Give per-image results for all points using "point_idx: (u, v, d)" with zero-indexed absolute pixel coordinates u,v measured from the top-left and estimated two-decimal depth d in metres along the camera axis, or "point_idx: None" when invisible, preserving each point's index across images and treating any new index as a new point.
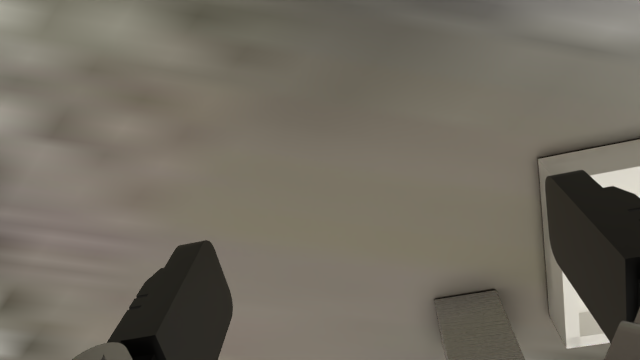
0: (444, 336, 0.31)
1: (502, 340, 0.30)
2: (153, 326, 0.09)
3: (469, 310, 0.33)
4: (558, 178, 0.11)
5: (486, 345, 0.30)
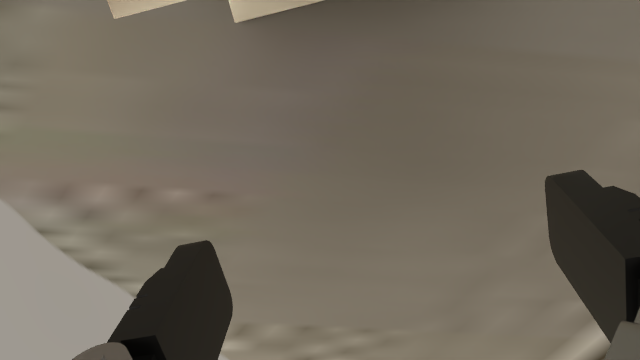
0: None
1: None
2: (153, 326, 0.09)
3: None
4: (558, 178, 0.11)
5: None
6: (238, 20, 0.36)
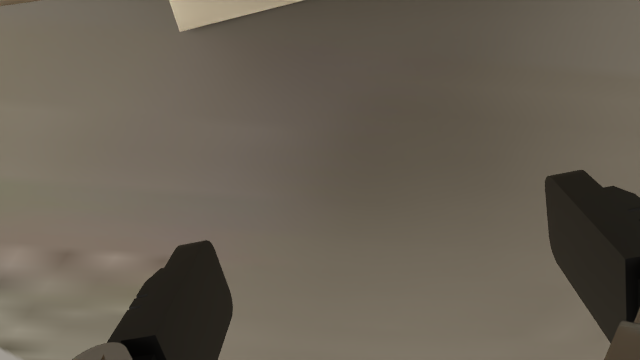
0: None
1: None
2: (153, 326, 0.09)
3: None
4: (558, 178, 0.11)
5: None
6: (184, 28, 0.25)
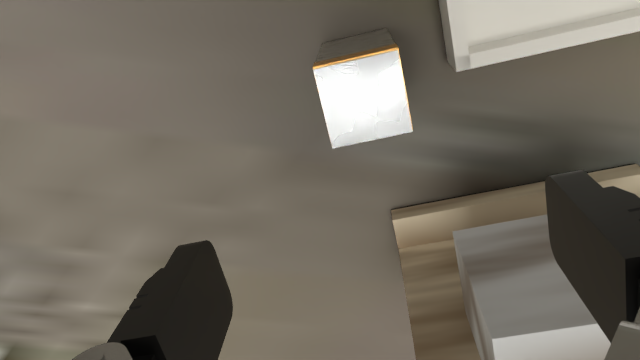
0: (320, 52, 0.28)
1: (378, 42, 0.27)
2: (153, 326, 0.09)
3: (354, 39, 0.30)
4: (558, 178, 0.11)
5: (360, 47, 0.27)
6: None
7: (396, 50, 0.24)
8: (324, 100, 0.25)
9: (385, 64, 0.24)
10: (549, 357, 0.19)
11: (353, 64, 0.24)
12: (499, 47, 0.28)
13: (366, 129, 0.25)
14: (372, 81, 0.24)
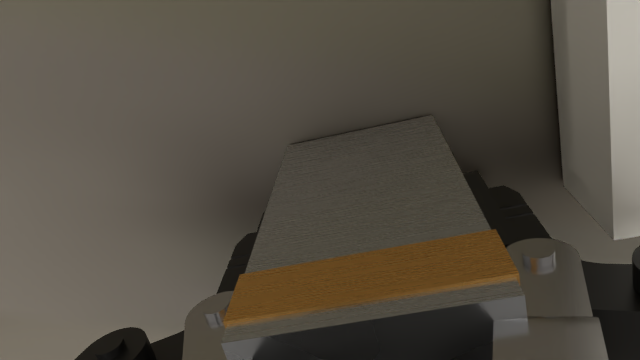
0: (273, 198, 0.11)
1: (427, 189, 0.10)
2: None
3: (358, 150, 0.13)
4: None
5: (377, 204, 0.10)
6: None
7: (517, 292, 0.07)
8: None
9: (475, 336, 0.07)
10: None
11: (360, 333, 0.07)
12: None
13: None
14: None
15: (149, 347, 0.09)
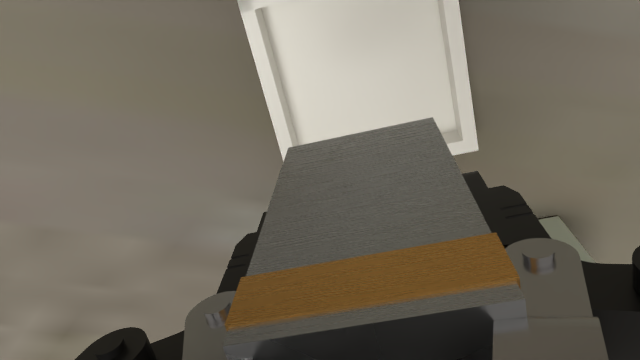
0: (274, 201, 0.11)
1: (427, 191, 0.10)
2: None
3: (359, 152, 0.13)
4: None
5: (378, 207, 0.10)
6: None
7: (517, 296, 0.07)
8: None
9: (475, 341, 0.07)
10: None
11: (361, 337, 0.07)
12: None
13: None
14: None
15: (149, 347, 0.09)
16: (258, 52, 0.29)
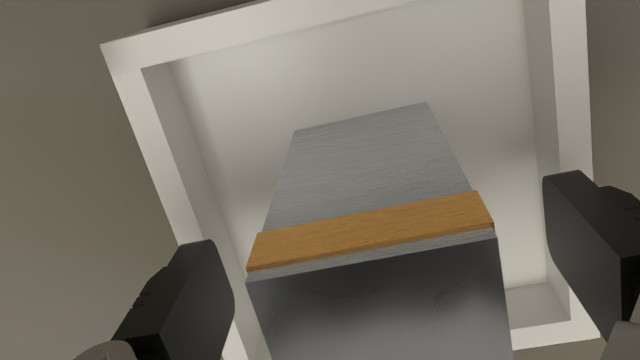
0: (283, 174, 0.12)
1: (420, 161, 0.11)
2: (157, 324, 0.09)
3: (359, 132, 0.14)
4: (554, 178, 0.11)
5: (376, 175, 0.11)
6: None
7: (491, 236, 0.08)
8: (281, 354, 0.09)
9: (457, 275, 0.08)
10: None
11: (361, 272, 0.08)
12: None
13: None
14: (416, 314, 0.08)
15: None
16: (155, 154, 0.14)
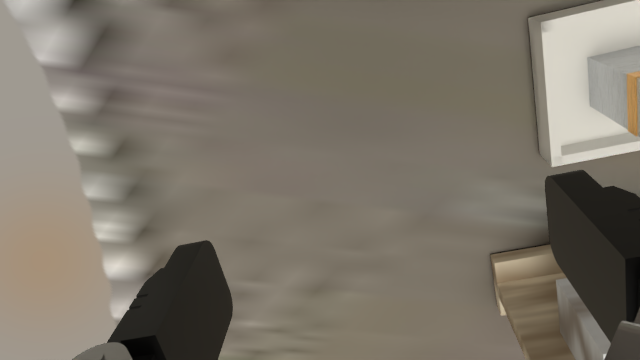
0: (608, 65, 0.37)
1: None
2: (153, 326, 0.09)
3: (623, 54, 0.39)
4: (558, 178, 0.11)
5: None
6: (504, 314, 0.50)
7: None
8: None
9: None
10: None
11: None
12: (582, 151, 0.41)
13: None
14: None
15: None
16: (548, 62, 0.39)
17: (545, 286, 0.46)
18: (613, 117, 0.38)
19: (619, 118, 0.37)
